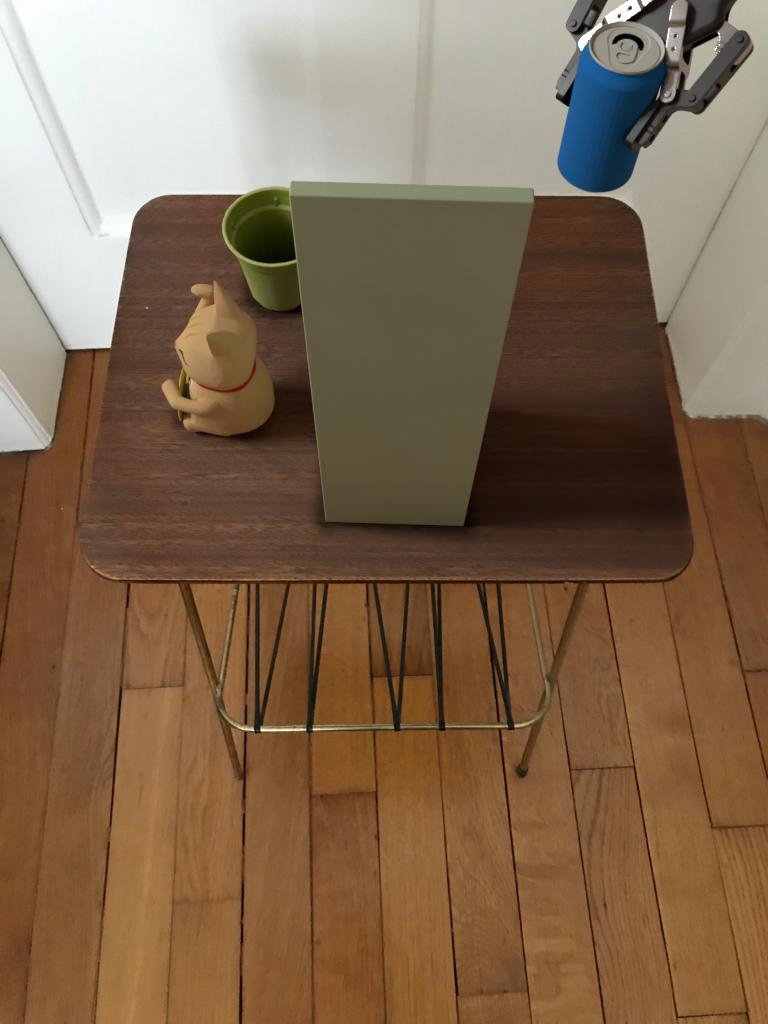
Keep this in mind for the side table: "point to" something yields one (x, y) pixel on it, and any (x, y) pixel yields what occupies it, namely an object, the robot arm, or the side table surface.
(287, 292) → the plant pot
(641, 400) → the side table surface
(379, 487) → the shelf
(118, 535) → the side table surface
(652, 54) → the beverage can
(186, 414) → the figurine
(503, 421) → the side table surface
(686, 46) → the robot arm
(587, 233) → the side table surface
